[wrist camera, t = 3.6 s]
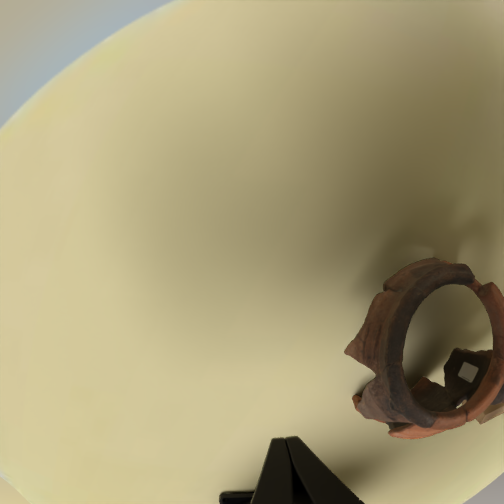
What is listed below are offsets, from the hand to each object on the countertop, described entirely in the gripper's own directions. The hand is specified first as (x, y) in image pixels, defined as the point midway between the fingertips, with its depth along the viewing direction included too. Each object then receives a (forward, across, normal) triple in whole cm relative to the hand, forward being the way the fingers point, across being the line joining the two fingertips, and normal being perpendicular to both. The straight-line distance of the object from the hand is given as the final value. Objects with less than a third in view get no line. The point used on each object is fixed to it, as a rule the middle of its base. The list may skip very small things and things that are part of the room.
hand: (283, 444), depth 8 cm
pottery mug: (+7, -9, +1) cm, 12 cm away
